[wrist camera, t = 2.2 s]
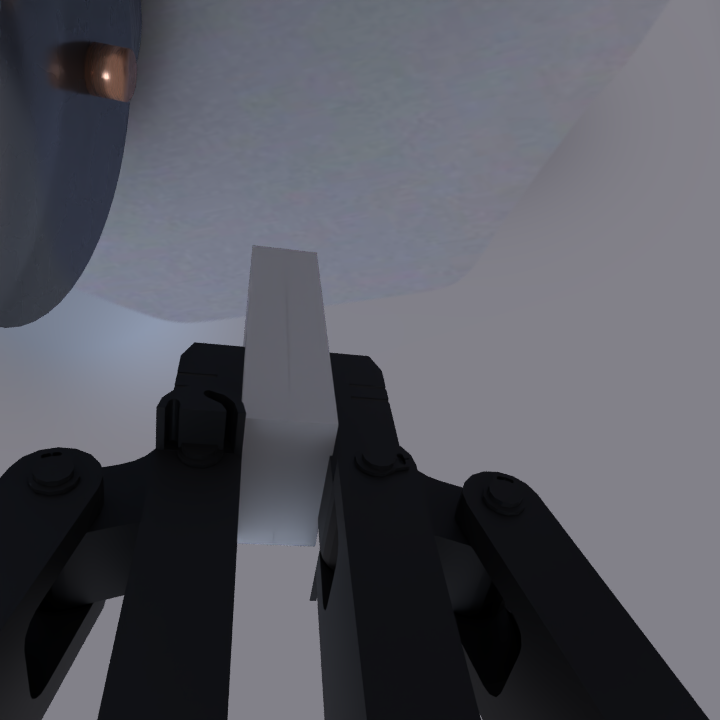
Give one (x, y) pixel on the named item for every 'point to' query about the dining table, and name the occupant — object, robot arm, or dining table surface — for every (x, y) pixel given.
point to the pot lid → (58, 142)
